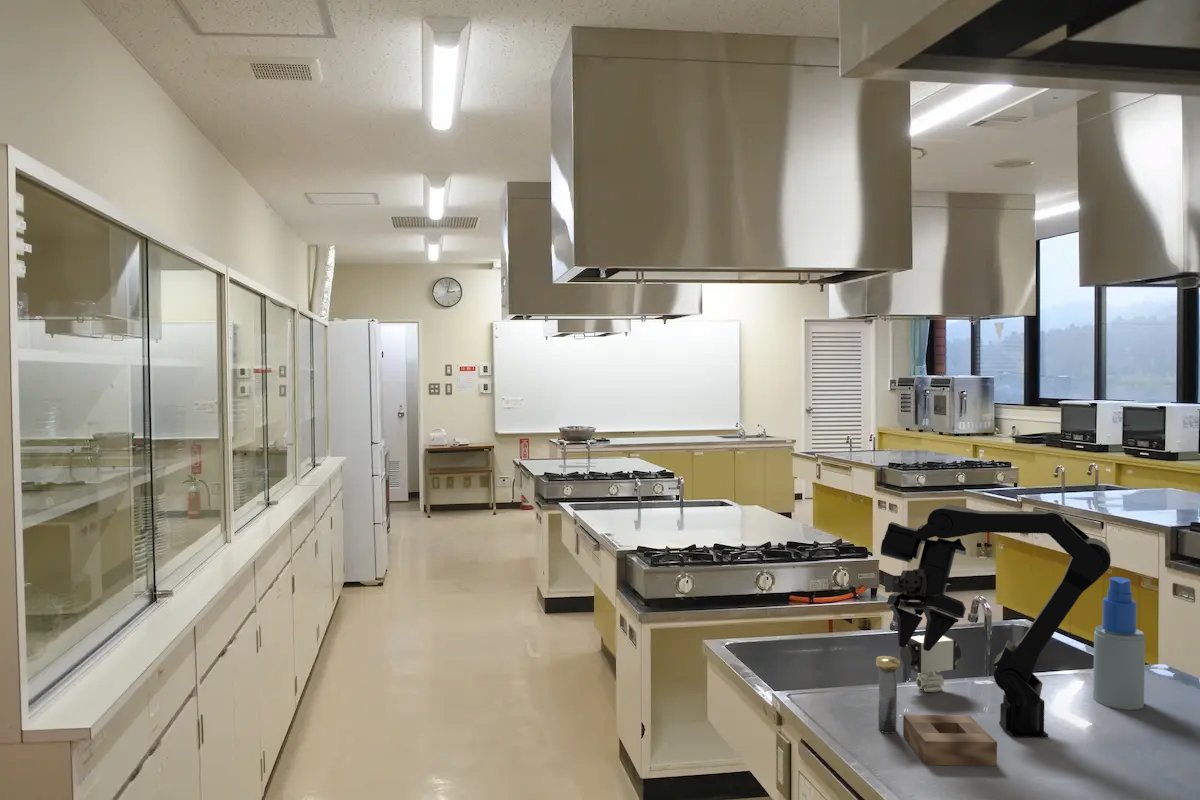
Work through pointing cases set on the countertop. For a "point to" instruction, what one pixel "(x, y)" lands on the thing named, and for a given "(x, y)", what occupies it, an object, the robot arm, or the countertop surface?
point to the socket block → (949, 740)
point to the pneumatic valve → (930, 660)
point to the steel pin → (887, 692)
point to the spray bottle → (1119, 650)
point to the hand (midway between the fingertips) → (913, 648)
